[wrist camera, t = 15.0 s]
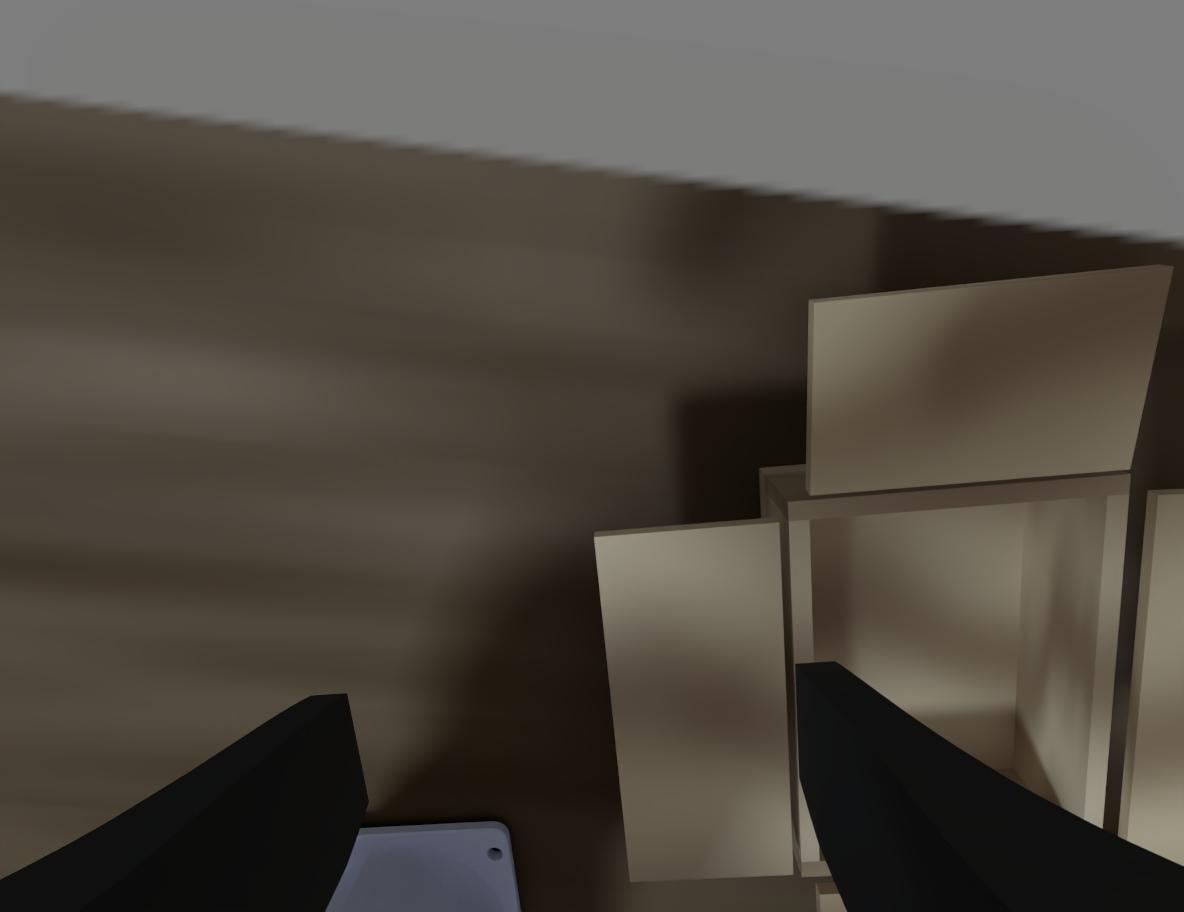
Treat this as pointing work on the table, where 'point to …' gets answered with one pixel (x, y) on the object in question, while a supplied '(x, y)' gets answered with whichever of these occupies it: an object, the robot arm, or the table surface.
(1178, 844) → the flap
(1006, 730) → the carton
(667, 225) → the table surface
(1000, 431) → the flap
